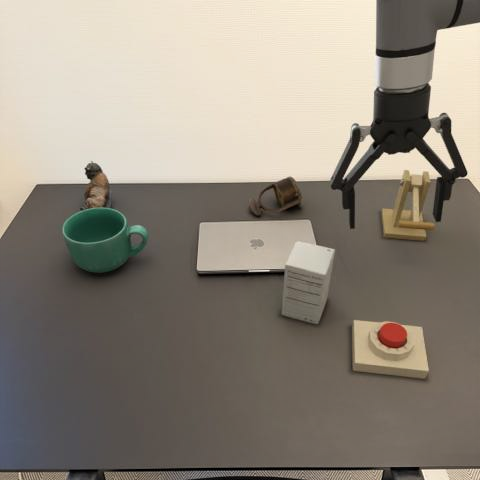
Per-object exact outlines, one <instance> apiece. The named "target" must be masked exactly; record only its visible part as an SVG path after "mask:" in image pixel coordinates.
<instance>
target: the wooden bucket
mask: <svg viewBox="0 0 480 480" xmlns="http://www.w3.org/2000/svg"><path fill="white" fill-rule="evenodd" d="M272 189H273V193H274V195H275V199H276V201H277V203H278V205H279V206H280V207H279V208H274V209H273V208H268V207H265V206H264V205H263V204H262V201H261V199H262V197H263V194H265V192H267V191H269V190H272ZM301 192H302V191H301V189H300V187H299V184H298V183H297V180H296V179H295V178H294V177H292V176H291V175H290V176H287V177H285V178H282V179H280V180H278V181H275V182H273V183H272V184H269V185H267V186H265V187H264V188H263V189H262V190H261V191H260V192H259V194H258V197H257V201H256V200H255V199H254V198H250V199H249V201H248V207H249V210H250V211H251V213H253V214H254V215H255V216H261V215H262V210H263V211H264V212H267V213H271V214H277V213H280V212H282V211H285V210H287V209H289V208H291V207H294V206H296V205H297V206H298V207H299V208H302V199H303V197H302V193H301Z"/></svg>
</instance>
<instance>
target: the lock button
mask: <svg viewBox="0 0 480 480" xmlns="http://www.w3.org/2000/svg"><path fill="white" fill-rule="evenodd" d="M397 323H398V322H396V323H386V324H384V325H383V326H382V327H381V329H380V332H379V336H378V338H379V341H380V342H381V343H382V344H383V345H384V346H386V347H388V348H400V347H402V346H403V345H404V343H405V340H406V338H407V331H406V330H405V328H404V327H403V326H401V325H402V324H400V323H398V324H397ZM399 324H400V325H399Z"/></svg>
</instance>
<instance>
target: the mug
mask: <svg viewBox="0 0 480 480" xmlns="http://www.w3.org/2000/svg"><path fill="white" fill-rule="evenodd" d="M61 231H62V235H63V239H64V242H65V244H66V248H67V250H68V253H69V255H70V258H71V259H72V261H73V263H75V265H76V266H77V267H79V268H80V269H82V270H84V271H86V272H89V273H96V274H97V273H98V274H100V273H108V272H111V271H114V270H116V269H119V268H121V266H122V265H124V264H125V263H126V262H127V260H128V259H129V258H130V257H133V256H135V255H138V254H139V253H140V252H142V251H143V250H144V249H145V248H146V246H147V243H148V241H149V232H148V231H147V229H146V228H145V227H144V226H142V225H139V224H135V225H131V226H128V222H127V218H126V216H125V215H124V214H123V213H122V212H120V211H119V210H116V209H114V208H111V207H110V208H91V209H86V210H83V211H80V212H79V211H78V212H76V213H74V214H73V215H71V216H70V217H68V218H67V219H66V220H65V222H64V223H63V225H62V230H61ZM134 234H135V235H139V236H140V237H141V238H142V241H141V242H140V243H138V244H136V245H134V246H132V239H131V237H132V235H134Z"/></svg>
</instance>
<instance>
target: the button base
mask: <svg viewBox="0 0 480 480" xmlns="http://www.w3.org/2000/svg"><path fill="white" fill-rule="evenodd" d="M386 323H397V324H399V325H401V326H403V327H404V328H405V330H406V331H407V338H406V340H405V343H404V345H403V346H402V347H400V348H388V347H386V346H384V345H383V344H382V343H381V342H380V341H379V338H378V336H379V332H380V329H381V327H382V326H383V325H384V324H386ZM351 349H352V351H351V352H352V353H351V355H352V356H351V357H352V371H354V372H362V373H368V374H369V373H370V374H379V375H388V376H397V377H404V378H414V379H422V380H426V379H427V376H428V374H429V372H430V369H429V363H428V357H427V350H426V345H425V338H424V331H423V326H416V325H407V324H400V323H398V322H395V321H387V320H386V321H384V320H383V321H382V322H380V321H379V322H378V321H368V320H359V319H353V322H352V326H351Z"/></svg>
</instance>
